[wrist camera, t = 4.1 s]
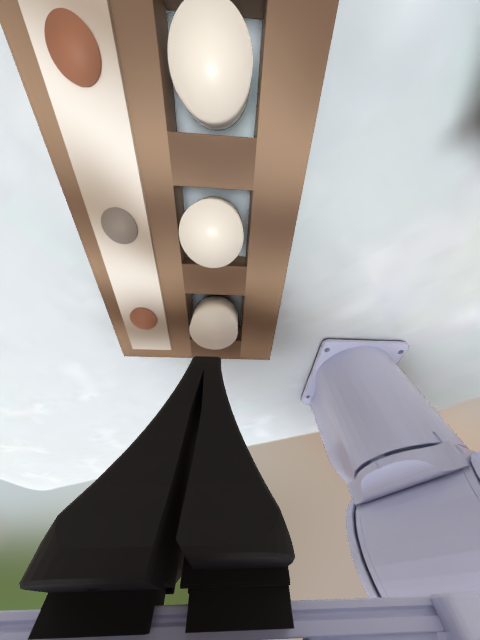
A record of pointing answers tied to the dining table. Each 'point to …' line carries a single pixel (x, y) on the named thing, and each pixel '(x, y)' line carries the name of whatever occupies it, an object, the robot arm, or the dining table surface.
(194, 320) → the button
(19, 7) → the button board
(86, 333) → the dining table surface
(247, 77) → the button
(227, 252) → the button middle
